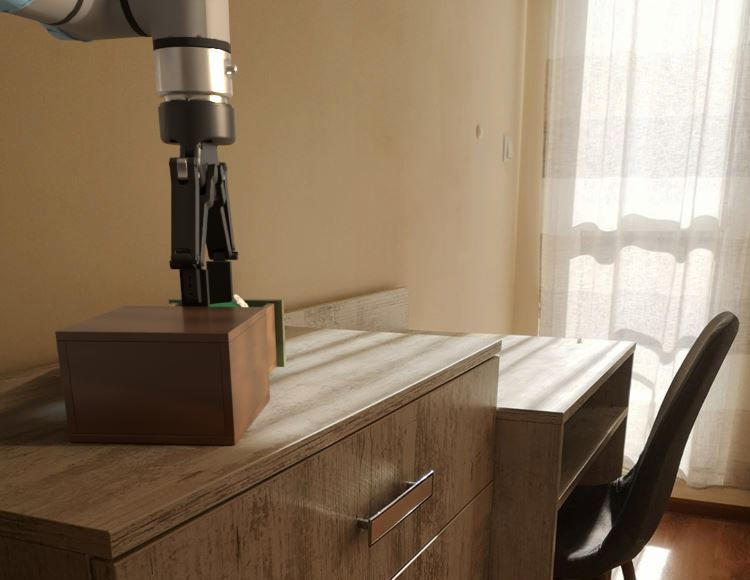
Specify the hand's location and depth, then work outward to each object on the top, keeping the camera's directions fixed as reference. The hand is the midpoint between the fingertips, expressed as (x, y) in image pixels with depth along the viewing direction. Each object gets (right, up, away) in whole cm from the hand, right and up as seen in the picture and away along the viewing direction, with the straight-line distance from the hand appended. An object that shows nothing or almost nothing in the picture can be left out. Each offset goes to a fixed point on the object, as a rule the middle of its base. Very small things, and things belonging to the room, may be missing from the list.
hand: (210, 326), depth 90 cm
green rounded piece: (0, -1, 0) cm, 1 cm away
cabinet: (-1, -11, -11) cm, 16 cm away
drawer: (0, -4, +4) cm, 6 cm away
